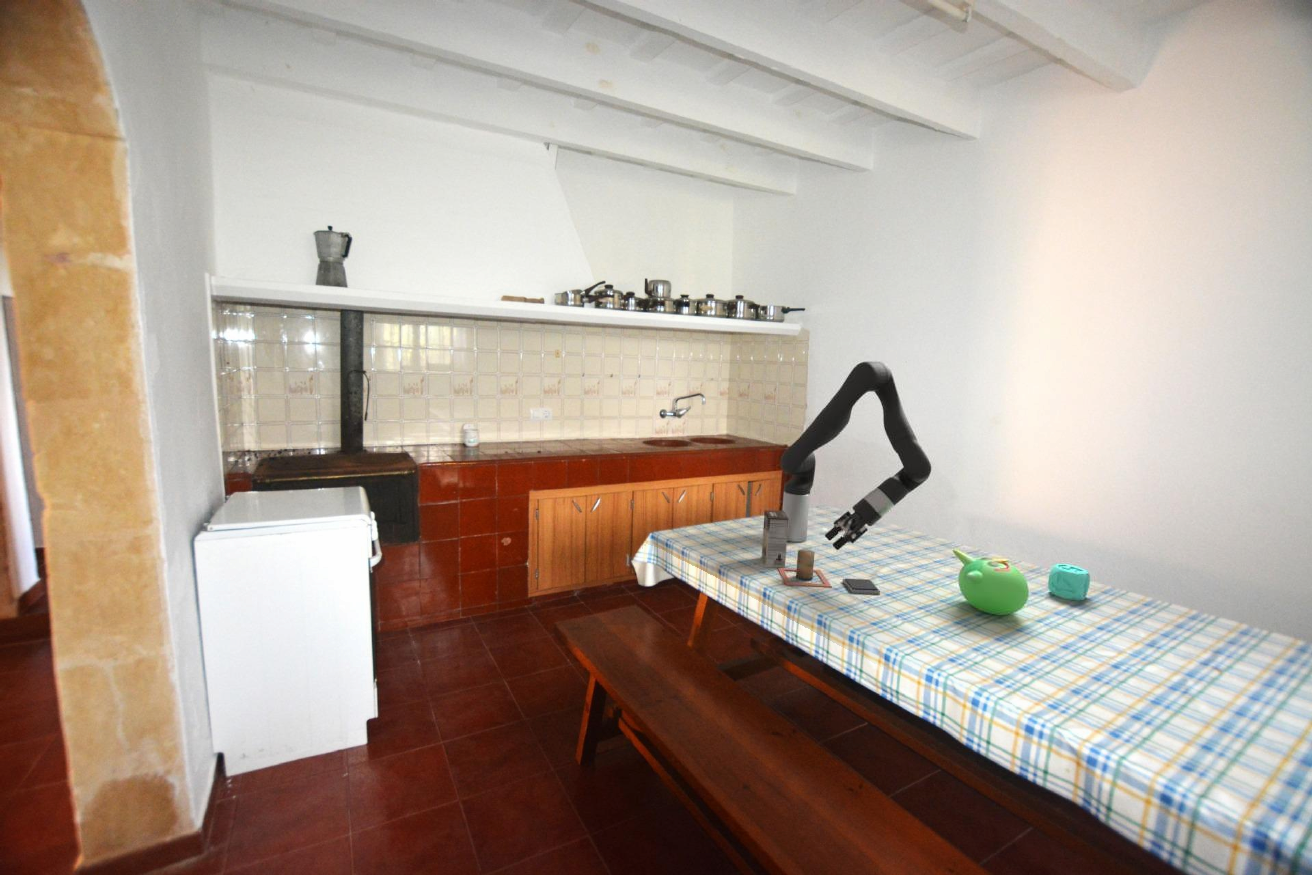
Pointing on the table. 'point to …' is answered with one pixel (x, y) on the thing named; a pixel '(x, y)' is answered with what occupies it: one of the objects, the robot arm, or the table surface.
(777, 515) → the coffee box
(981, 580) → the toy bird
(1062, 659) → the table surface
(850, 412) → the robot arm
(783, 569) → the marked square
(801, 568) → the stamp
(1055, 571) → the decorative dice
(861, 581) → the ink pad
